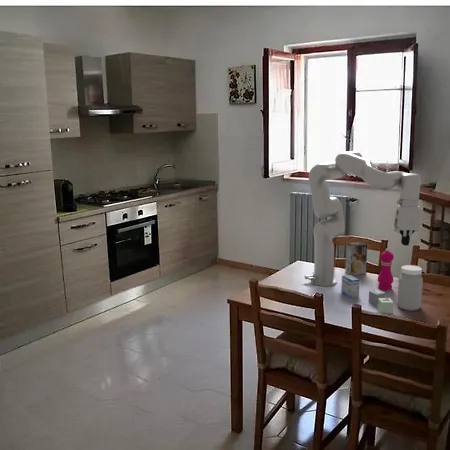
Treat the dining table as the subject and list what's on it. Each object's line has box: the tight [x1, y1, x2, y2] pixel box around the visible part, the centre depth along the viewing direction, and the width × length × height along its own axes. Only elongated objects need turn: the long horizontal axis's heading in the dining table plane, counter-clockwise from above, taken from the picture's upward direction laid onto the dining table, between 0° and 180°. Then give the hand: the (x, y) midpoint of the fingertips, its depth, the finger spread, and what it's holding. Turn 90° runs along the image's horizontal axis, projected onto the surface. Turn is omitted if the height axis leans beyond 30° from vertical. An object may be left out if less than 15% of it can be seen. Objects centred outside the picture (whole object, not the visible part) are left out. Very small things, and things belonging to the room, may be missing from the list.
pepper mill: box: [377, 248, 395, 291], centre depth 239 cm, size 7×7×20 cm
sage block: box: [377, 297, 395, 314], centre depth 213 cm, size 5×5×5 cm
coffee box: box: [345, 241, 368, 276], centre depth 262 cm, size 9×6×16 cm
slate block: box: [368, 288, 387, 306], centre depth 223 cm, size 5×5×5 cm
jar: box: [396, 264, 424, 312], centre depth 215 cm, size 10×10×18 cm
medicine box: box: [340, 274, 361, 299], centre depth 232 cm, size 8×4×9 cm, turn 23°
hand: (405, 244), depth 214 cm, fingers closed
